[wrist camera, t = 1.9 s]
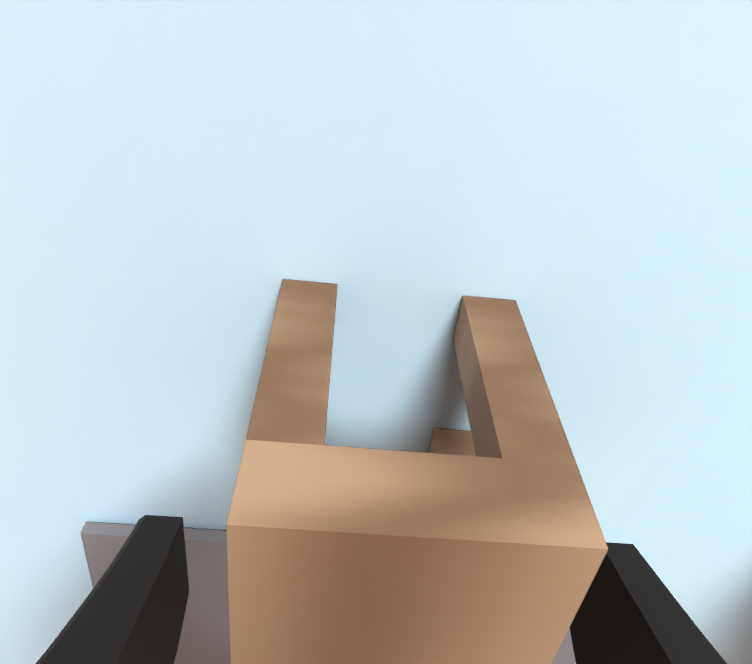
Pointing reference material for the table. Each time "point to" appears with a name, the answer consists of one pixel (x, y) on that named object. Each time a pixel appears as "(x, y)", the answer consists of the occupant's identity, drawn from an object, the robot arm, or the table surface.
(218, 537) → the mat
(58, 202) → the table surface
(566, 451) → the stool
